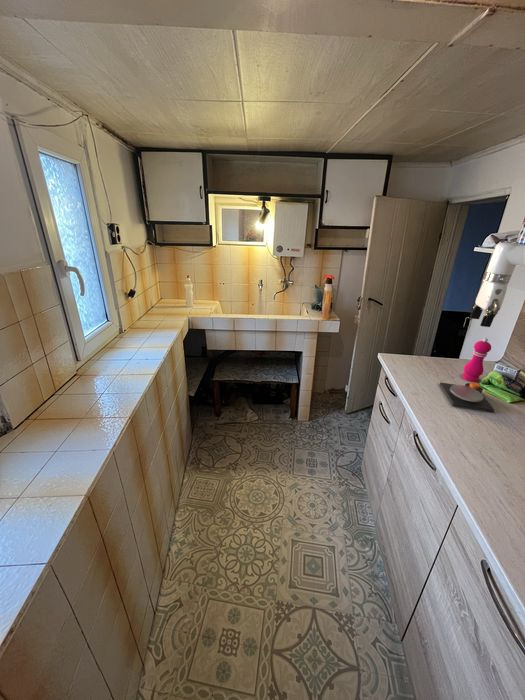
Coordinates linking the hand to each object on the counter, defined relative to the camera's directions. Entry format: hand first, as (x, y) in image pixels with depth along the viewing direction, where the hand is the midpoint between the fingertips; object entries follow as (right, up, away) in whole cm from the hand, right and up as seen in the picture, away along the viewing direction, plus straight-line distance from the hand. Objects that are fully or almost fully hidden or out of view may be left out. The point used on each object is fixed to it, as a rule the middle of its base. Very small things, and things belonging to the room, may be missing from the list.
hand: (479, 322), depth 111 cm
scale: (-3, -30, +4) cm, 31 cm away
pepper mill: (+10, -24, +19) cm, 32 cm away
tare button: (+2, -27, +6) cm, 27 cm away
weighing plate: (-5, -28, +1) cm, 29 cm away
